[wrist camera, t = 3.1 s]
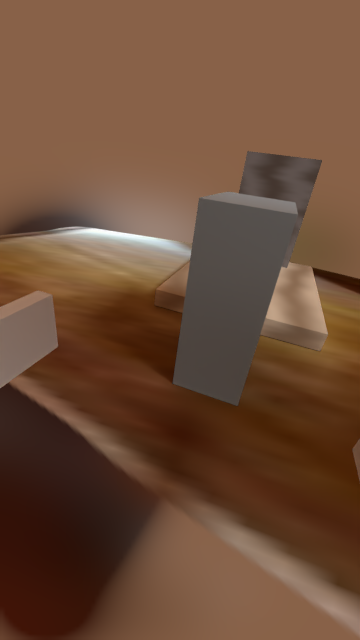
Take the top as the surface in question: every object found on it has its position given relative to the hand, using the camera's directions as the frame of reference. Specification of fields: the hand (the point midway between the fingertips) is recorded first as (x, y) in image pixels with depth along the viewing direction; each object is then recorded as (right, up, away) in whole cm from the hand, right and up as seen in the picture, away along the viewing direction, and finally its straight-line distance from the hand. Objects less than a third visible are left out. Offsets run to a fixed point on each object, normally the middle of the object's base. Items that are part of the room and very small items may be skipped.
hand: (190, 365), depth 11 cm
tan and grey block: (+9, +6, +29) cm, 31 cm away
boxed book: (+3, -2, +13) cm, 13 cm away
